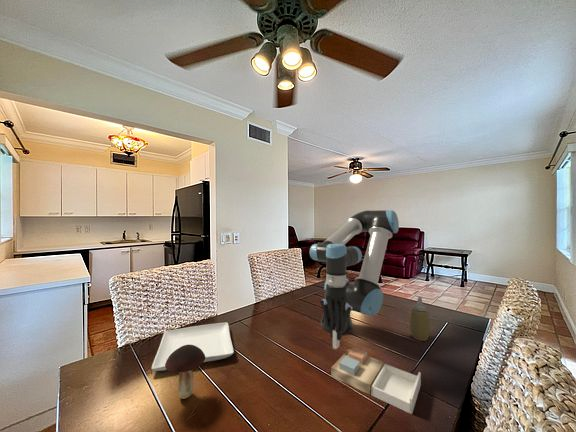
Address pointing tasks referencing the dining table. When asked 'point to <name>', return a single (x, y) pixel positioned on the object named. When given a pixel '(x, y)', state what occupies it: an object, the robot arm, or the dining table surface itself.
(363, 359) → the tile terracotta
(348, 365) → the tile slate
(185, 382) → the decorative mushroom
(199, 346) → the square plate
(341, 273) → the robot arm
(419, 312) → the squeeze bottle
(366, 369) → the beige flat block
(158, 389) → the dining table surface
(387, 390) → the tray
